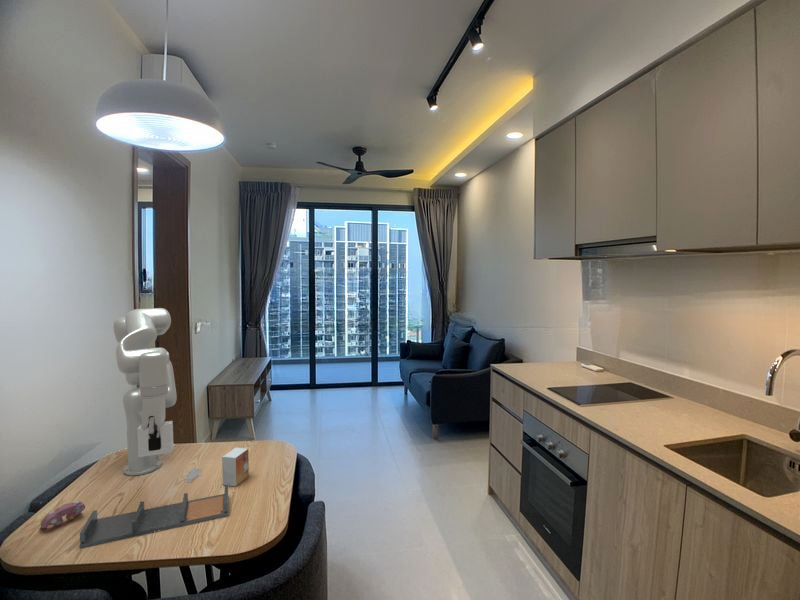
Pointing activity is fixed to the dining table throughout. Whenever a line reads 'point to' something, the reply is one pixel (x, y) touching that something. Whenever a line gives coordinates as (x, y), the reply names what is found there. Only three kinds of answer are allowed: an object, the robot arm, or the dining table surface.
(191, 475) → the car cutout
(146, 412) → the robot arm
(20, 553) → the dining table surface
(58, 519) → the video game controller
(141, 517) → the slot rack
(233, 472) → the small box
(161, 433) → the panel
